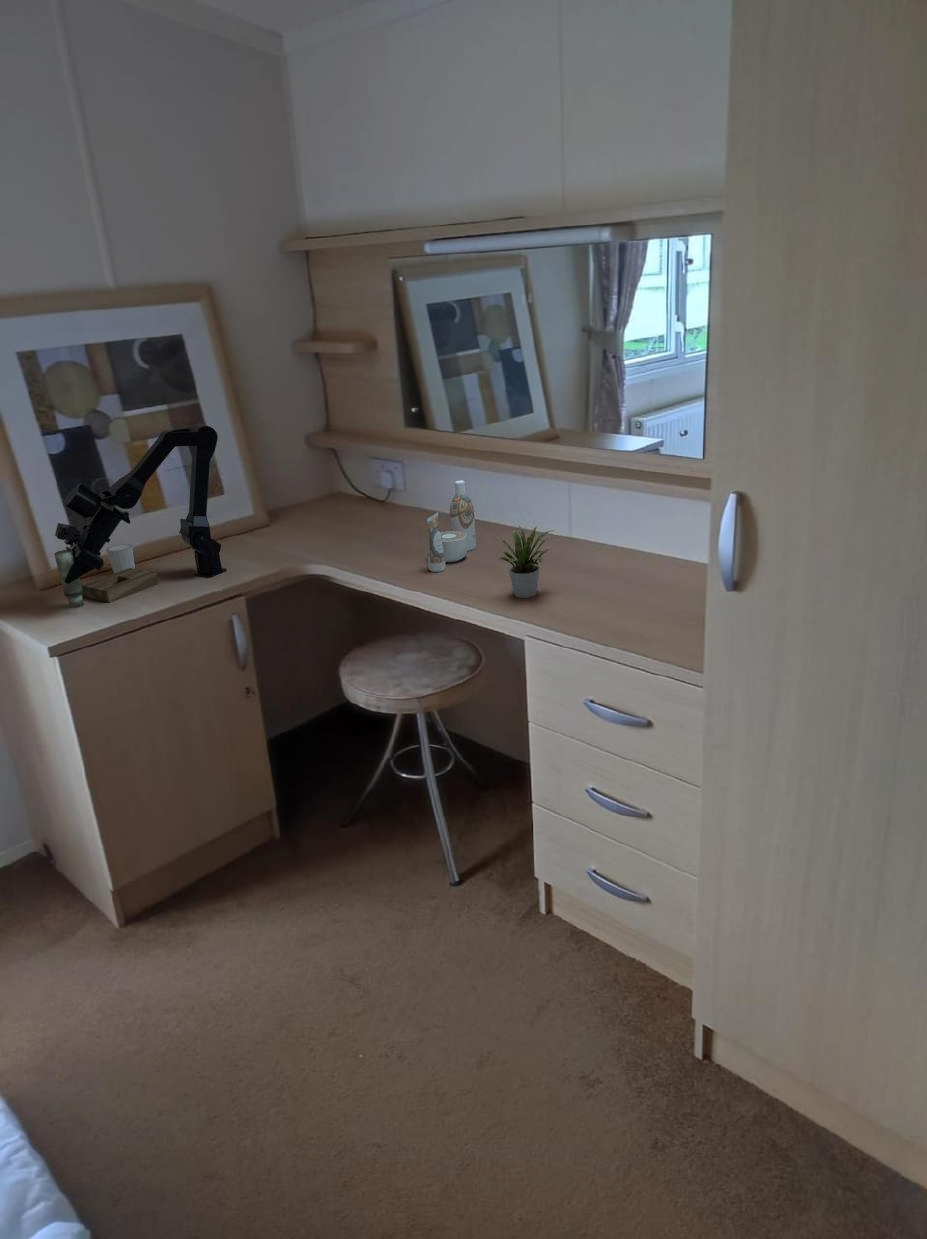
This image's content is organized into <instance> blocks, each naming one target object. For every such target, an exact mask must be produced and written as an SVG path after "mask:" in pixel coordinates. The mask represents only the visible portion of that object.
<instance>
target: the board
mask: <svg viewBox="0 0 927 1239" xmlns="http://www.w3.org/2000/svg"><path fill="white" fill-rule="evenodd" d="M156 585H159V578H158V574H157V572H153V571H148V570H144V569H137V568H135V569H133V568H128V569H126V570H123V571H120V572H117V573H114V572H113V573H111V574H109V575H106V576H104V577H101V578H97V579H95V580H92V581H90V582H86V583H84V584H81V587H82V589H83V594H82V597H84V596H85V597H84V598H88V599H93V600H97V601H102V602H104V603H105V602H106V603H112V602H115V601H118V600H121V599H124V598H125V596H126V597H128V596H130V595H133V593H134V594H136V593H138V592H141V591H144V590H146V589H148V588H152V587H154V586H156ZM120 598H121V599H120Z"/></svg>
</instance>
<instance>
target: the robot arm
mask: <svg viewBox="0 0 927 1239" xmlns="http://www.w3.org/2000/svg"><path fill="white" fill-rule="evenodd" d="M218 437H219V436H218V432H217V431H216V430H215V428H214V427H211V426H209V425H205V424H202V423H195V424H192V425H191V426H190V427H184V428H177V429H176V428H175V429H165V430H162V431H161V432H160V434H159V436H158V437H157V439H156V440H155V441H154V442H153V443H152V445H151V446H150V447H149V449H147V451H146V452H145V453H144V454H143V456H142V457H141V458H140V459H139V461H138V462H137V463H136V464H135V466H134V467H133V468H132V469H131V470H130V471H129V472H128V473H127V474H125V475H123V476H122V477H121V478H119V479H118V480H116V481H115V482H114V483H113V484H112V485H111V486H110V488H108V489H106V490H103V491H101V492H97V493H95V492H94V491H92V490H90V489H89V488H88V487H87V486H86V485H84V484H82V483H81V482H80V483H78V484H77V486H76V487H74V488H73V489H72V490H71V491H69V492H68V493H67V495H66V497H65V498H64V501H63V504H62V505H63V507H65V508H66V509H68V510H70V511H72V512H74V513H75V514H76V515H78V516H80V517H81V518H83V519H87V518H92V519H91V520H90V522H89V523H84V524H83V525H82V527H78V526H76V525H71V524H66V523H61V522H58V523H57V525H56V529H55V534H54V536H55V537H56V538H57V539H58V540H62V541H64V543H65V544H66V545H67V546H65V550H73V554H74V555H73V554H71V555H72V559H73V563H72V565H71V567H70V570H69V572H68V574H67V576H66V578H65V580H64V582H65V583H67V584H69V583H71V582H72V581H74V580H76V579H77V578H81V577H82V576H84V575H86V574H87V573H90V572H92V571H93V570H97V571H101V569H102V568H103V567H104V565H105V562H104V559H103V557H101V555H102V552H101V550H102V549H103V548H104V546H105V544H106V543H107V544H109V543H110V542H111V539H110V537H111V535H113V533H114V531H115V530H116V529H117V527H118V526H119V525H120V523H121V522H122V521H123V522H125V523H126V524H131V520H130V514H129V512H128V511H127V510H129V509H133V508H134V507H135V506H136V505H137V503H138V501H139V500H140V498H141V496H142V494H143V491H144V489H145V485H146V484H147V482H148V481H149V479H151V478H152V476H153V475H154V473H155V472H156V471H157V470H158V468H159V467H160V466H161V465H162V463H163V462H164V461H165V460H166V458H167V457H168V456H169V455H170V454H171V452H172V451H173V450H174V449H175V448H176V447H188V449H189V453H190V457H191V471H190V472H191V474H190V488H189V503H188V504H189V506H188V514H187V516H186V517H185V519H184V518H180V519H179V520H180V521H179V522H180V523H179V524H180V529H179V532H178V533H179V534H180V535H181V539H182V541H183V543H185V544H186V545H188V546H189V547H190V548H191V549H192V550H193V554H194V560H195V566H196V570H197V571H194V572H193V575H195V576H199V577H204V578H212V577H214V576H217V575H219V574H222V573H224V572H226V571H227V567H222V562H221V556H220V552H221V548H222V544H221V543H219V542H218V541H217V540H214V539H213V538H212V535H211V527H210V523H209V520H208V516H207V514H208V513H207V511H208V499H209V496H208V495H209V481H210V480H209V479H210V466H211V460H212V457H214V456H213V455H214V454H215V452H216V449H217V445H218V439H219V438H218ZM102 502H103V503H104V504H106V506H105V505H104V504H102ZM107 505H108V506H109V507H108V506H107ZM116 506H117V507H118V508H120V509H122V510H125V511H121V510H120V509H118V508H116ZM68 546H69V547H68Z"/></svg>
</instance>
